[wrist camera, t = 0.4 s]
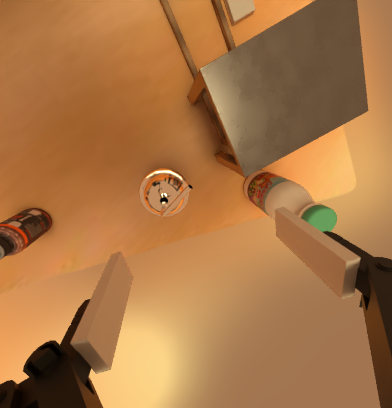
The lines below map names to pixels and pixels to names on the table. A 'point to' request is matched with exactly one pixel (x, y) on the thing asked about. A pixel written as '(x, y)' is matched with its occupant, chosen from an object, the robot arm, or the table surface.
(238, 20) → the broken lane
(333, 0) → the shelf
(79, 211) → the table surface
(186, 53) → the frame
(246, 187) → the milk bottle
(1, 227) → the supplement bottle
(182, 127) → the table surface
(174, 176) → the cup with straw
